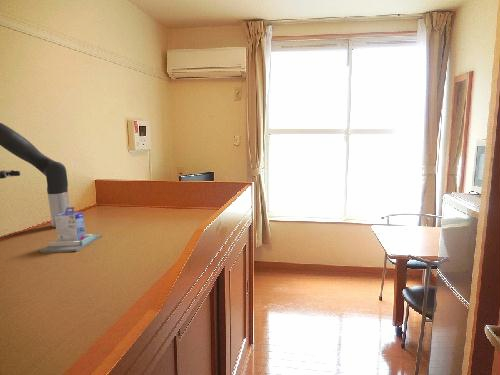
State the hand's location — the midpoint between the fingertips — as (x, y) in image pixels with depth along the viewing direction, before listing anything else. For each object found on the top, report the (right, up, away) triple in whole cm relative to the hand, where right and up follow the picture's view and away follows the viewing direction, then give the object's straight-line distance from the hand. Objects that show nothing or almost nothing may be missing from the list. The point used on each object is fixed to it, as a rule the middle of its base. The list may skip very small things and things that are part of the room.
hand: (12, 174), depth 151 cm
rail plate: (+29, -29, -4) cm, 41 cm away
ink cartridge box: (+29, -29, -4) cm, 41 cm away
